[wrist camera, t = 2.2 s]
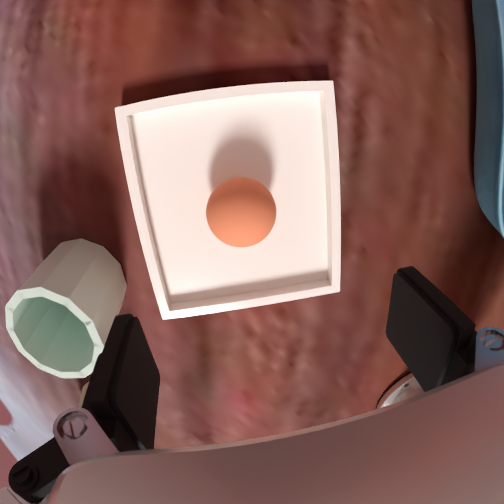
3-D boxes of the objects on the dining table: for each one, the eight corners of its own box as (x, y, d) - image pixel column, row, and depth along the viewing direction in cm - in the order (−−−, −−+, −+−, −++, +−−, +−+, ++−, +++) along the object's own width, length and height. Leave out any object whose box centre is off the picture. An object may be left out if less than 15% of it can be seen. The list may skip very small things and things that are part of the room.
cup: (111, 232, 26) (77, 281, 18) (136, 313, 29) (118, 376, 21) (36, 247, 25) (-10, 294, 17) (64, 320, 28) (35, 378, 21)
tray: (325, 82, 23) (333, 80, 21) (333, 281, 30) (339, 291, 29) (121, 108, 22) (114, 108, 20) (164, 308, 29) (162, 319, 27)
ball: (266, 167, 24) (279, 180, 20) (272, 228, 27) (285, 253, 22) (201, 176, 24) (199, 191, 20) (211, 237, 26) (212, 264, 22)
